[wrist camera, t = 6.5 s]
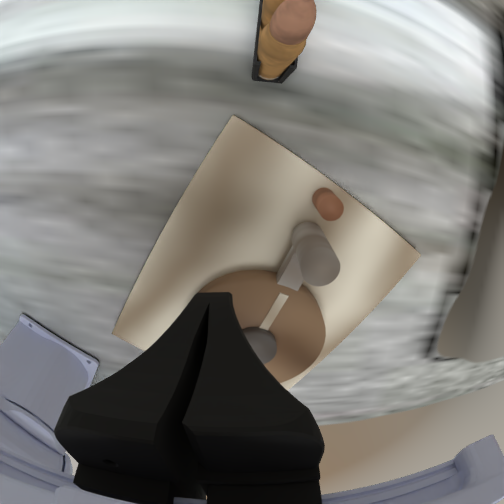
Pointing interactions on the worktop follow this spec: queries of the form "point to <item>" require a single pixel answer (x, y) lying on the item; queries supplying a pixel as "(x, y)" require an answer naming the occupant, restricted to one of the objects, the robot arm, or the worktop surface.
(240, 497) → the robot arm
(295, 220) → the board
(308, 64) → the worktop surface
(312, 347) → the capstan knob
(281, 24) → the ammunition clip
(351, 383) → the worktop surface
